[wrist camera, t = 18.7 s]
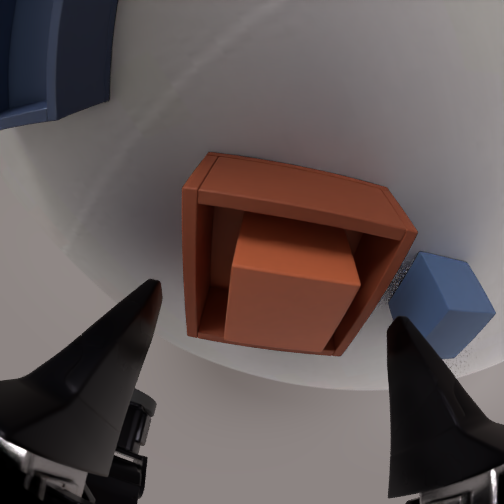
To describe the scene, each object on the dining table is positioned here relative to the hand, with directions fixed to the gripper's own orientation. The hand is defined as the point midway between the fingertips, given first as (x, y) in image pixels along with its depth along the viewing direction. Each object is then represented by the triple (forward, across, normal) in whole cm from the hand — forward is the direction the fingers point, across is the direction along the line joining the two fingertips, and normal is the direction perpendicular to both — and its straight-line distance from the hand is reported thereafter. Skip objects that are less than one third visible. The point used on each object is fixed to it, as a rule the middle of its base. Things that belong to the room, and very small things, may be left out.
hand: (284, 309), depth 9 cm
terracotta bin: (+4, 0, 0) cm, 4 cm away
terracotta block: (+4, 0, 0) cm, 4 cm away
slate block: (+4, -9, +1) cm, 10 cm away
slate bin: (+4, +12, -14) cm, 19 cm away
